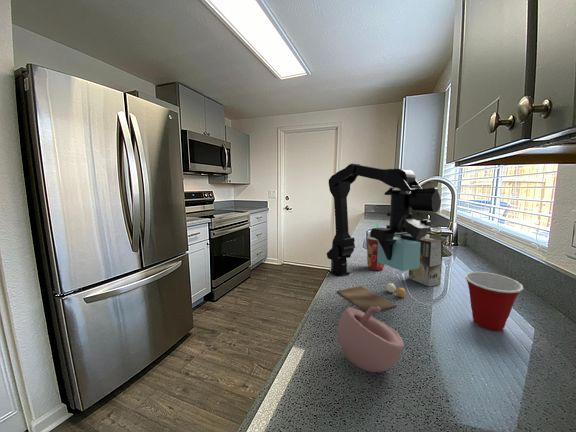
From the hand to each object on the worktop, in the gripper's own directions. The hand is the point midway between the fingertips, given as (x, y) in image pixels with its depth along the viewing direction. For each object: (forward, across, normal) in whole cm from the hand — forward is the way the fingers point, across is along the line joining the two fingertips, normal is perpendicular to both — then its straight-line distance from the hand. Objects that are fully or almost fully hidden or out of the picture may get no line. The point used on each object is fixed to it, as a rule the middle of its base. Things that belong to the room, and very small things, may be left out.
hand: (397, 258), depth 74 cm
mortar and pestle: (+12, -30, -20) cm, 38 cm away
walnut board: (+12, -12, +2) cm, 17 cm away
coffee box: (+12, +19, +4) cm, 23 cm away
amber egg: (+12, 0, -2) cm, 12 cm away
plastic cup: (+12, +7, -22) cm, 26 cm away
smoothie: (+12, +13, +22) cm, 28 cm away
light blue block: (+2, 0, 0) cm, 2 cm away
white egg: (+12, 0, +2) cm, 12 cm away
